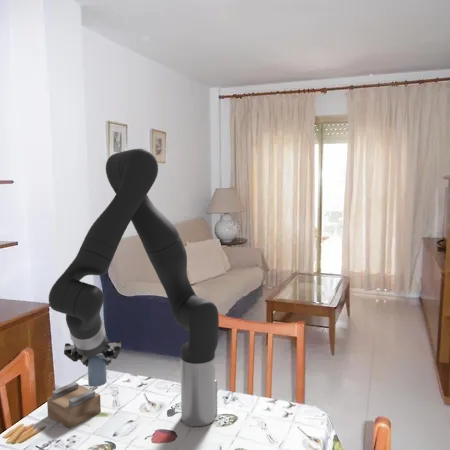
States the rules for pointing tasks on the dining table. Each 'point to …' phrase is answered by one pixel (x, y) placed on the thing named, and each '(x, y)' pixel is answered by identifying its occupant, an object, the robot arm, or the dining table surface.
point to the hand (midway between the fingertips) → (97, 362)
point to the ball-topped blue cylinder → (96, 371)
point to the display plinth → (75, 412)
